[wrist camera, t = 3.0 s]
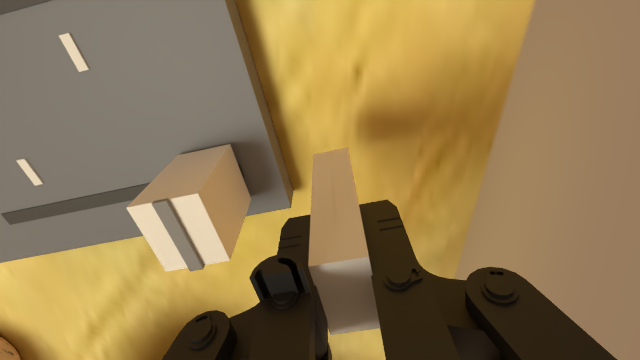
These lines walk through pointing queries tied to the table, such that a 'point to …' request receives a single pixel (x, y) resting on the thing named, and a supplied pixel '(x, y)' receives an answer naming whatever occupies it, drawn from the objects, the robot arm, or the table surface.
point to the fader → (193, 209)
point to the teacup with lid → (7, 351)
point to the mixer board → (120, 113)
